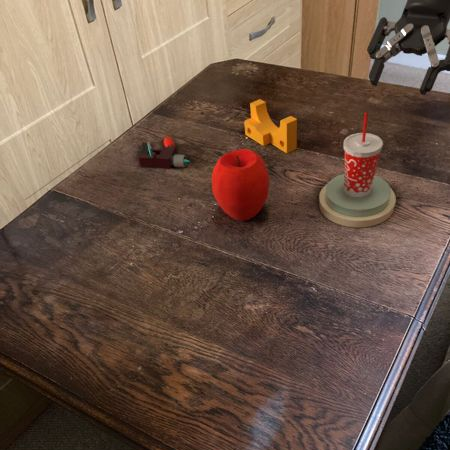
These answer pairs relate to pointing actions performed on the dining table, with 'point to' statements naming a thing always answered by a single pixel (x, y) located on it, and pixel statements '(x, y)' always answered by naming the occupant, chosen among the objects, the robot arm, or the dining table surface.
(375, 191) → the round push button
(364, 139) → the beverage cup
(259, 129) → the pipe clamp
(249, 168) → the apple
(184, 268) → the dining table surface
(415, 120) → the dining table surface
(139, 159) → the toy gun
